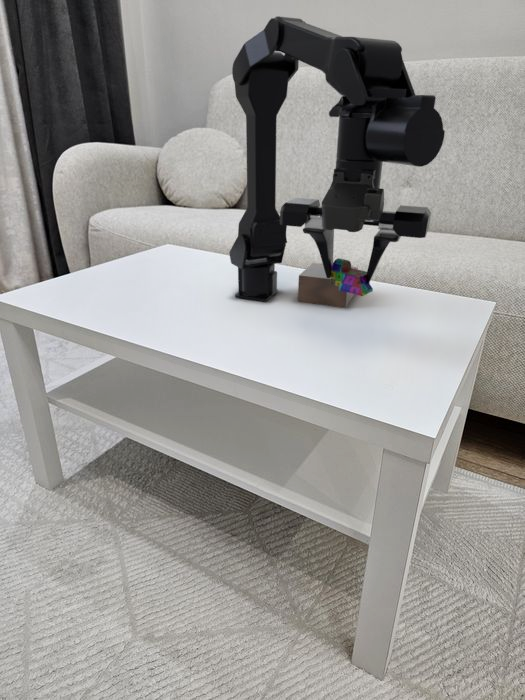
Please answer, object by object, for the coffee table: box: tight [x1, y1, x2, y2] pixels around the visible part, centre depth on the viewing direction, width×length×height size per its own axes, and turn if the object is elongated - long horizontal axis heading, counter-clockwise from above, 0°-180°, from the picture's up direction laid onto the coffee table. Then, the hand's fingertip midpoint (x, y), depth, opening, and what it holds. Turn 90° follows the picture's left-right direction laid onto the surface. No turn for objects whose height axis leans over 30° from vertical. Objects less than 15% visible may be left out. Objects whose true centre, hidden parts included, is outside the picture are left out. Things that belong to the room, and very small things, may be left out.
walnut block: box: [297, 262, 359, 309], centre depth 89 cm, size 9×9×5 cm
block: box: [330, 257, 374, 297], centre depth 65 cm, size 6×4×3 cm
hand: (348, 280), depth 66 cm, fingers closed on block, 5 cm apart
